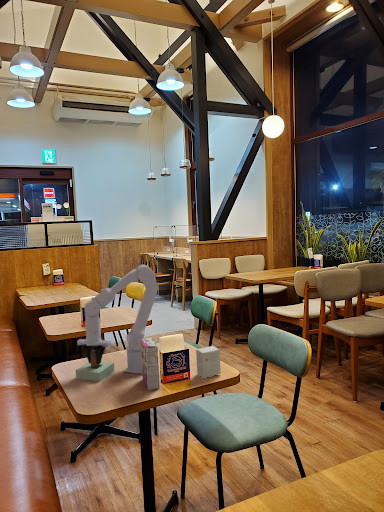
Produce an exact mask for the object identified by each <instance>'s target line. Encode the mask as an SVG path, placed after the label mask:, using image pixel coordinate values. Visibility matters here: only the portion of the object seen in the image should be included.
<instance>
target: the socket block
mask: <svg viewBox="0 0 384 512" xmlns="http://www.w3.org/2000/svg"><path fill="white" fill-rule="evenodd" d="M113 372H115V362H110V361H101V363H100V364H99V368H98V369H93V368H91V363H89V362H87V363H85V364H83V365H82V366H79V368H77V369H75V379H76V380H85V381H93V382H101V381H102V380H104V379H106V377H108V376H109V375H111V374H112V373H113Z"/></svg>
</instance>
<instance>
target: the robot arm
mask: <svg viewBox="0 0 384 512" xmlns="http://www.w3.org/2000/svg"><path fill="white" fill-rule="evenodd" d="M139 280H140V282H141V283H142V284H143V286H144V288H145V291H144V294H143V297H142V300H141V303H140V306H139V308H138V312H137V314H136V318H135V321H134V324H132V327H131V329H130V331H129V332H128V333H127V335H126V341H127V347H126V359H127V361H126V362H127V368H125V369H124V370H123V372H124V373H131V374H142V359H141V342H140V339H145V333H146V327H147V324H148V321H149V318H150V315H151V312H152V309H153V306H154V302H155V299H156V296H157V292H158V291H159V286H158V282H157V278H156V274H155V272H154V270H152V268H151V267H149V265H146V264H139V265H138V266H136V268H133V269H132V270H130V271H129V272H128V273H125V275H124V276H123V277H122V278H121V279H119V280H118V281H117V282H116V283H115V284H114V285H112V286H111V287H106V288H101V289H100V290H99V291H100V292H99V293H98V294H96V296H94V297H93V296H92V297H91V298H90V300H88V301H87V302H86V303H85V305H84V313H85V315H84V318H85V320H84V321H85V322H84V323H85V337H86V338H85V339H83V338H79V339H78V340H77V342H76V343H77V346H83V347H81V348H82V351H83V352H84V354H85V356H86V359H87V361H88V362H89V363H91V358H90V351H91V350H94V351H95V354H96V362H97V364H100V363H101V362H102V360H103V355H104V352H105V349H106V348H111V346H112V342H111V341H109V340H104V339H102V337H101V336H102V335H101V333H102V332H101V319H100V315H99V314H100V312H101V310H103V309H105V308H106V307H107V306H108V305H109V304H111V303H112V302H113V301H114V300H115V299H116V295H117V294H118V293H119V292H120V291H122V290H124V288H126V287H127V286H129V285H130V284H131V283H139ZM88 362H87V363H88Z"/></svg>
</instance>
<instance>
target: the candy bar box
mask: <svg viewBox="0 0 384 512" xmlns="http://www.w3.org/2000/svg"><path fill="white" fill-rule="evenodd" d="M140 342H141V359H142V376H141V377H142V381H143V383H144V385H145V388H146V390H147V391H153V390H154V391H155V390H159V389H160V371H159V369H160V368H159V355H158V354H159V353H158V351H159V350H158V345H157V344H156V341H155V340H154V339H153V337H146V338H145V337H144V338H143V339H140Z"/></svg>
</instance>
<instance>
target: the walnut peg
mask: <svg viewBox="0 0 384 512" xmlns="http://www.w3.org/2000/svg"><path fill="white" fill-rule="evenodd" d="M90 358H91V368H93V369H98V368H99V364H97V362H96V354H95V351H94V349H93V350H91V351H90Z"/></svg>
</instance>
